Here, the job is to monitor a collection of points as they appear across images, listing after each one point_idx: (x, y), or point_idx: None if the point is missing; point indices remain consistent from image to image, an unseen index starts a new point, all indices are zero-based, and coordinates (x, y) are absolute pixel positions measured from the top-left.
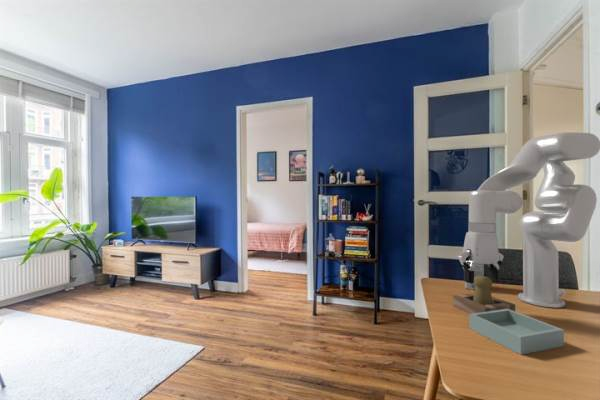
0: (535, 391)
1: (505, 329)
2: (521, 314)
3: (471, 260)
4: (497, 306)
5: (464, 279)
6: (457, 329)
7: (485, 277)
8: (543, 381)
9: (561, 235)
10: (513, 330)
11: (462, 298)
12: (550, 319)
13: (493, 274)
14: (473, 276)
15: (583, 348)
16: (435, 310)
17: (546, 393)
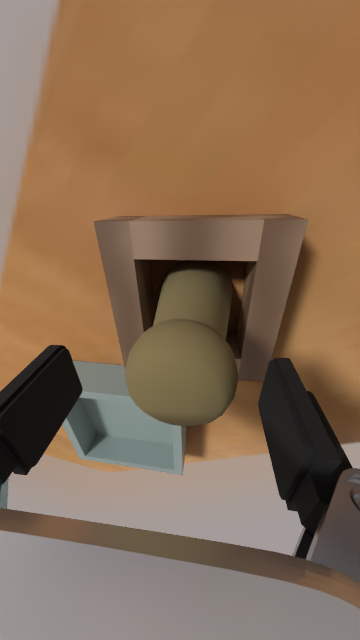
0: (55, 455)
1: (74, 442)
2: (177, 428)
3: (10, 546)
4: None
5: (47, 351)
6: (38, 354)
7: (177, 418)
8: (76, 454)
9: None
10: (138, 408)
11: (115, 272)
12: (325, 395)
13: (275, 439)
14: (52, 430)
15: (209, 453)
16: (25, 237)
17: (63, 459)
